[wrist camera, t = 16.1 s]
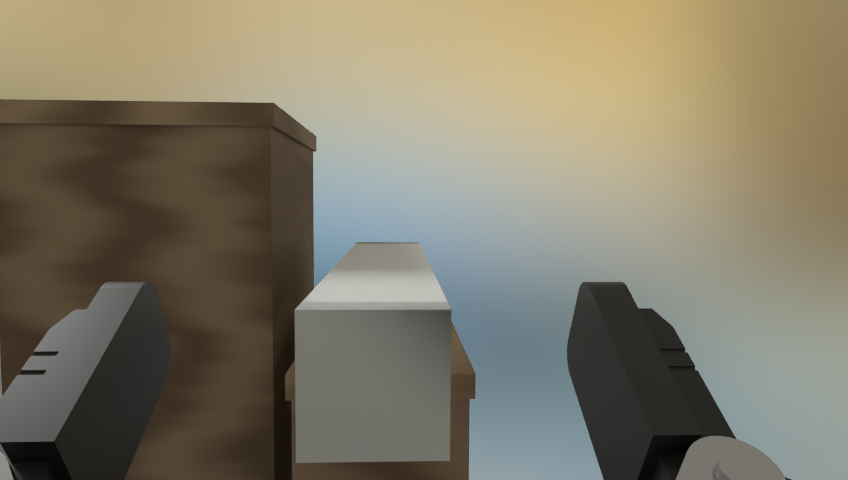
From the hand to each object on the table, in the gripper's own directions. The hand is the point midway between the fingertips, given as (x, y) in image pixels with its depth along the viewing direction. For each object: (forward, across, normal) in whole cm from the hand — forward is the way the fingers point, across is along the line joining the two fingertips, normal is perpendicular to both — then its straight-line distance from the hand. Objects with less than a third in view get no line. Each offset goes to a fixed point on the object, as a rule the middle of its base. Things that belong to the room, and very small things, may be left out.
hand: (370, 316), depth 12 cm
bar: (+12, 0, +12) cm, 16 cm away
